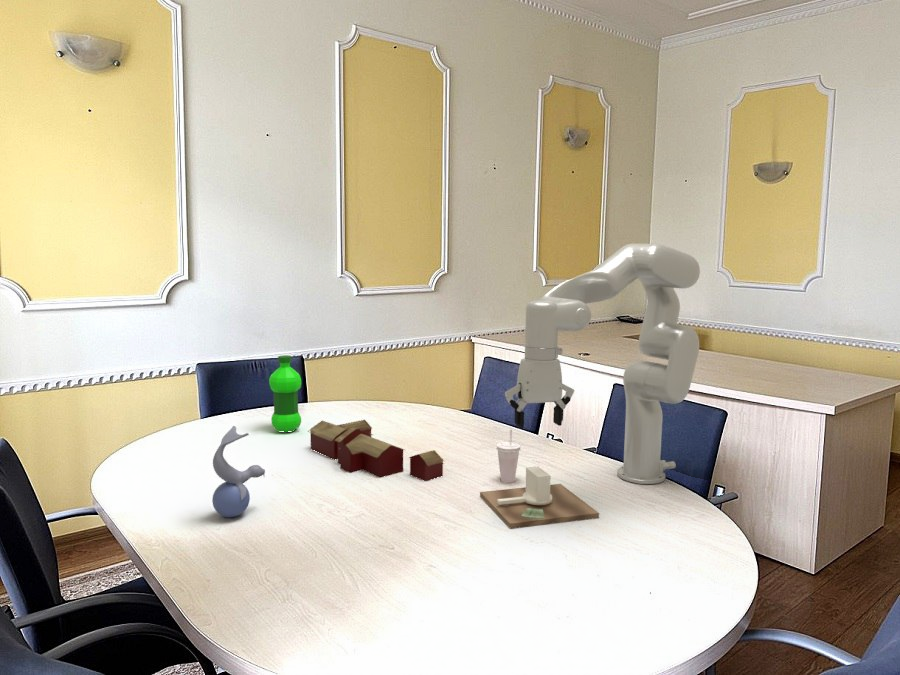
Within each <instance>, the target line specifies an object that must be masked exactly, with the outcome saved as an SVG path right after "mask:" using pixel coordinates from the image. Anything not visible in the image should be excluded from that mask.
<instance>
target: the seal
mask: <svg viewBox="0 0 900 675" xmlns="http://www.w3.org/2000/svg"><path fill="white" fill-rule="evenodd" d="M247 436H249V432H246V433H243V434H239V433H237V426H235V425H233V426H232V427H231V428H230V429H229V430H228V431H227V432H226V433H225V435H224V436H223V437H222V439H221V441H220V442H221V443H220V445H219V446H218V447H217V449H216V451H215V453H214V455H213V458H212V467H213V470H214V472H215V474H216V475H217V476H218V477H219V479H221V480H223V481H224V482H222V483H221V484H219V486H217V488H215V490H214V492H213V494H212V505H213V508H214V510H215V511H216V512H217V513H218V514H219V515H220V516H222V517H226V518H235V517H238V516H240V515H242V514H243V513H244V512H245V511H246V510H247V508H248V506H249V504H250V500H251V497H250V492H249V489H248V487H247V486H246V485H245V484H244V483H247V481H248V480H250V479H251V478H253V479H254V478H255V479H256V478H259V477H260V478H261V477H262V476H263V477H266V470H265V469H264V468H263V467H262V466H260V465H259V464H253V465H250V466H248V468H246V469H245V470H243V471H242V470H239V469H237V468H235V467H234V466H232V465H230V464H229V463H228V462H227V460H226V458H225V457H224V450H225V447H226V446H228V445H230V444H231V443H234V442H236V441H238V440H240V439H242V438H244V437H247Z"/></svg>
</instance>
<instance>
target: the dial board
mask: <svg viewBox="0 0 900 675" xmlns="http://www.w3.org/2000/svg"><path fill="white" fill-rule="evenodd" d="M525 492H526V486H524V487H517V488H516V487H514V488H505V489H496V490H487V491H485V490H484V491H479V497H480V498H481V500H483V501H484V503H485V504H486V505H487V506H488V507H489V508H490V509H491V510H492V512H493V513H495V514H496V515H497V517H498V518H500V520H501V521H502V522H504V524H505V525H506V526H507V527H508V528H509V529H510V530H511V529H519V527H520V528H526V527H534V526H543V525H551V524H559V523H560V522H561V523H567V522H575V521H576V520H577V521H582V520H583V521H585V519H586V520H593V519H598V518H600V512H598V511H597V510H596V509H594V508H593V507H592V506H591V505H589V504H588V503H587V502H585V501H584V500H583V499H581V498H580V497H579V496H577V495H576V494H575V493H574V492H572V491H571V490H570V489H568V487H566V486H565V485H563V484H562V483H554V484H553V483H552V484H550V494H551V495H552V502H551V503H550V504H547V505H532V504H528V503H526V502H519V503H510V504H501V505H499V504H498V503H497V499H504V498H514V497H523V493H525ZM592 518H593V519H592ZM561 523H560V524H561Z"/></svg>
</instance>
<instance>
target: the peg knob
mask: <svg viewBox="0 0 900 675" xmlns="http://www.w3.org/2000/svg"><path fill="white" fill-rule="evenodd" d="M551 479H552V478H551V475H550V473H548V472H546V471H545V470H544V469H542V467H540V466H537V465H536V466H527V467H525V487H526V492H525V493H523V497H514V498H504V499H497V503H498V504H499V505H501V504H510V503H519V502H526V503H528V504H532V505H547V504H550V503H551V502H552V495H551V494H550V485H551Z"/></svg>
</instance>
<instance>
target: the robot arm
mask: <svg viewBox="0 0 900 675" xmlns="http://www.w3.org/2000/svg"><path fill="white" fill-rule="evenodd" d="M700 274H701V267H700V265H699V262H698V261H697V259H696V258H695V257H694V256H692V255H690V254H688V253H686V252H682V251H680V250H677V249H675V248H673V247H670V246H666V245H663V244H661V243H660V244H659V243H636V242H635V243H628V244H625V245H623V246H622V247H621V248H619V249H618V250H617V251H615V252H614V253H613V254H611V255H610V256H608V257H607V258H606V259H605V260H604V261H602V262H601V263H600V264H599V265H597V266H596V267H595V268H594V269H592V270H590V271H587V272H584V273H582V274H579V275H577V276H575V277H573V278H571V279H567V280H565V281H563V282H561V283H559V284H557V285H556V286H554V287H553V288H552V289H550V290H549V291H548V292H547V293H545V294H544V295H543V296H542V297H541V298H540V299H539V300H531V301H529V302H528V303H526V307H525V325H524V326H525V329H524V330H525V334H524V358H521V359H520V362H519V367H518V372H517V378H516V385H515V386H513V387H511V388H509V389H508V390H506V391H505V392H504V396H505V399H506V401H507V403H508V404H509V405H510V406H511V408H513V410H514V424H515V426H516V427H518V428H519V429H524V427H525V411H523V410H524V408H525V407H526V406H527V405H528V404H540V403H541V404H545V403H554V405H555V406H554V407H553V423H554V424H555V425H557V426H559V427H560V426H562V425H563V424H562V423H563V421H564V410H565V409H566V407H567V406H568V404H569V403H570V402H571V398H572V397H573V395H574V394H575V389H574V388H571V387H569V386H568V385H567V384H564V383H563V376H562V375H563V374H562V367H561V362H560V359H558V358H559V355H562V354H563V348H559V346H558V344H559V342H558V341H559V340H558V339H559V337H558V336H559V332H560V331H562V332H563V331H564V332H580V331H582V330H584V329H586V327H588V325H589V324H590V322H591V319H592V312H591V309H590V307H589V306H588V305H587V304H591V303H592V304H593V303H600V302H604V301H607V300H611V299H613V298H614V299H615V297H617V296H618V295H619V294H620V293H621V292H623V291H624V290H625V289H626V288H627V287H628V286H630V284H632V283H633V282H635V281H636V280H637V279H638V280H639V281H640V283H641V285H642V287H643V289H644V291H645V294H646V295H645V296H646V301H647V302H646V308H645V314H644V316H643V320H642V326H641V329H640V334H639V338H638V349H639V351H640V353H642V354H643V355H644V356H647V357H652V358H654V359H661V360H665V361H667V364H663V363H658V362H652V361H647V360H637V361H634V362H631V363H629V365H627V366H626V368H625V370H624V372H623V388H624V395H625V424H624V426H625V427H624V445H623V446H624V447H623V449H624V450H623V466H620V467H619V468H618V469H617V471H616V474H617V477H619V478H620V479H622V480H623V481H627V482H630V483H634V484H640V485H641V484H643V485H656V484H660V483H663V482H664V481H665V480H666V473H665V472H664V471H666V470H672V469H676V462H675V461H674V460H673V461H672V460H671V461H666V460H665V459H661V453H662V452H661V451H662V434H663V433H662V432H663V417H664V416H663V410H662V406H661V403H666V404H673V405H674V404H675V405H676V404H679V403H681V402H683V401H684V400H685V398H687V396H688V393H689V391H690V389H691V385H692V381H693V376H694V373H695V368H696V365H697V364H696V363H697V360H698V356H699V352H700V338H699V335H698V333H697V332H696V330H695V329H694V328H692V327H691V326H689V325H683V324H678V321H679V315H680V311H681V305H680V303H681V302H680V299H679V296H678V294H677V292H676V290H675V289H681V290H682V289H689V288H691V287H693V286H694V285H696V283H697V282H698V280H699V278H700ZM563 391H565V394H564V395H563ZM514 395H515V396H516V398H517V400H515V399H514ZM562 396H563V397H562ZM660 402H661V403H660Z"/></svg>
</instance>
